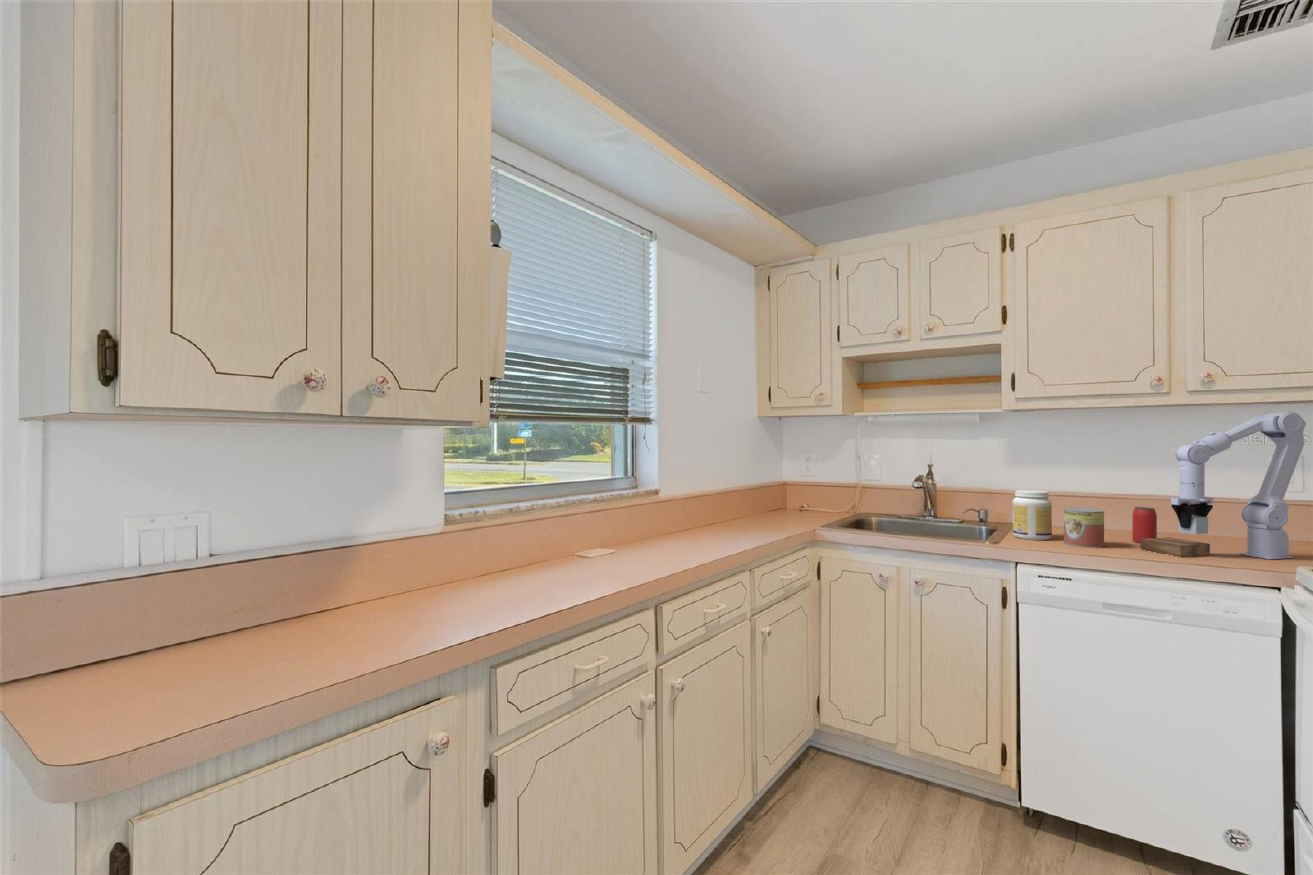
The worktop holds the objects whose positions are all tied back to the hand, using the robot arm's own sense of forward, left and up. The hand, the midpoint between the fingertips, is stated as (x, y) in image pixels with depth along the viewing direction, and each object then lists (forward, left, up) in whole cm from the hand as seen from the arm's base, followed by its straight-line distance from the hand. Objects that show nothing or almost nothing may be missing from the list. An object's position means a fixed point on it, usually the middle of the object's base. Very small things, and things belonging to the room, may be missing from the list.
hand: (1191, 527), depth 189 cm
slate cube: (0, 0, -2) cm, 2 cm away
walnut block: (+1, -4, -9) cm, 10 cm away
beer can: (-8, -20, -9) cm, 24 cm away
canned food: (+16, -22, -9) cm, 29 cm away
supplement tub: (+21, -38, -9) cm, 45 cm away
